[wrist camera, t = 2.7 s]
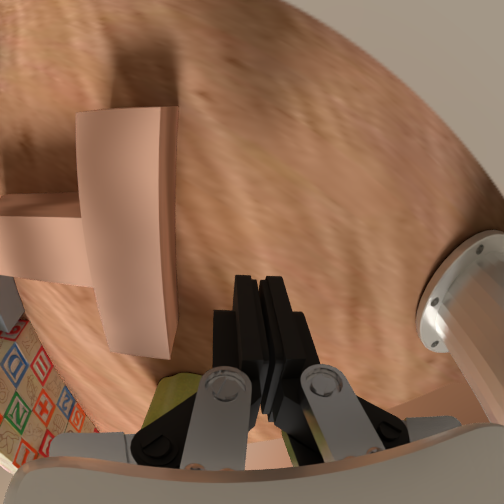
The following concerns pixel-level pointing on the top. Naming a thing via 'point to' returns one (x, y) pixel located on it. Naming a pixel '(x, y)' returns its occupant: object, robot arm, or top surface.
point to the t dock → (9, 304)
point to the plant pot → (171, 394)
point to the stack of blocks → (32, 400)
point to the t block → (109, 227)
